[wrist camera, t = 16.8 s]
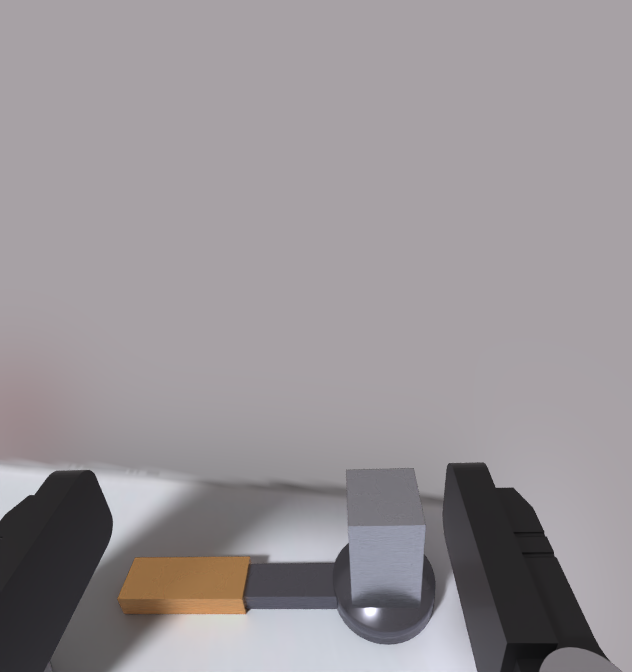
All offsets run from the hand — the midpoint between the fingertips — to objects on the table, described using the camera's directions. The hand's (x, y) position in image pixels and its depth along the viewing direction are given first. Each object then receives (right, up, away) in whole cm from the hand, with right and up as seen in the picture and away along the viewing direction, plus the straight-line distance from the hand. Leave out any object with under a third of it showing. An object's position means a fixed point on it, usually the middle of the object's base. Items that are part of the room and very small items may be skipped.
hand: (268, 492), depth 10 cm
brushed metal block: (+6, -15, +25) cm, 30 cm away
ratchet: (-2, -18, +27) cm, 32 cm away
